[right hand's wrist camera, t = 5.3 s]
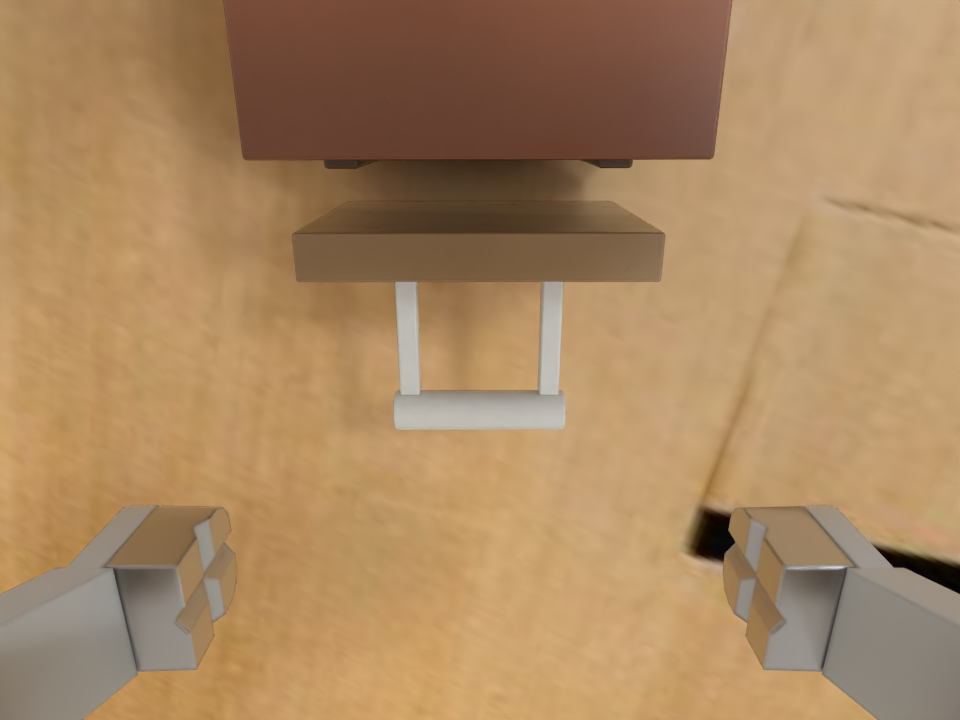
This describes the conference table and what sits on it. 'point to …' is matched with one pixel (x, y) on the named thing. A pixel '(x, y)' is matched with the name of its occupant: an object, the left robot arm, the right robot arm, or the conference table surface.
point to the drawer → (478, 280)
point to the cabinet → (477, 78)
